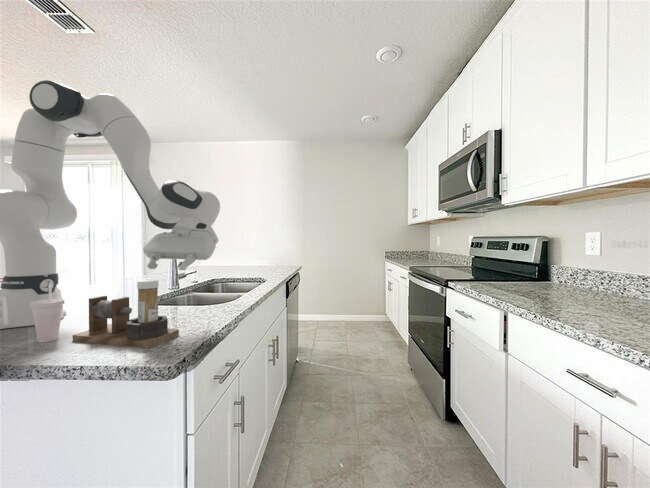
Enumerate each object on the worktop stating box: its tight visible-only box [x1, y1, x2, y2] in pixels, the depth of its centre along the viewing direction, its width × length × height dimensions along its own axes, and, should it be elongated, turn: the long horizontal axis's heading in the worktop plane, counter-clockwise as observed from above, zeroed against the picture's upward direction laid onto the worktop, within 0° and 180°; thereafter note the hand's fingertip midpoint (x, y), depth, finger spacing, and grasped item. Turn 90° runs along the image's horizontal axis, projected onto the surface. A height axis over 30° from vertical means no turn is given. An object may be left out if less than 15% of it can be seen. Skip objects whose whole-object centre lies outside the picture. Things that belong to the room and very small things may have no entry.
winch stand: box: [72, 295, 180, 349], centre depth 77 cm, size 22×10×10 cm, turn 78°
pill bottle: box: [136, 278, 159, 324], centre depth 75 cm, size 5×5×13 cm
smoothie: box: [30, 283, 65, 343], centre depth 75 cm, size 6×6×14 cm
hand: (165, 268), depth 81 cm, fingers open, 8 cm apart
